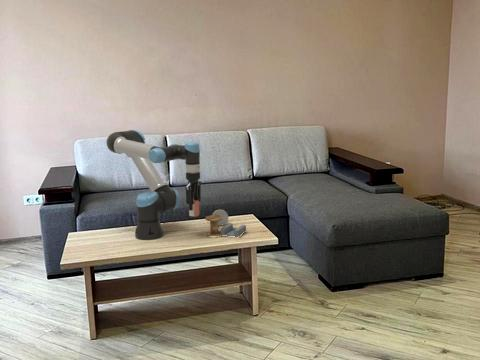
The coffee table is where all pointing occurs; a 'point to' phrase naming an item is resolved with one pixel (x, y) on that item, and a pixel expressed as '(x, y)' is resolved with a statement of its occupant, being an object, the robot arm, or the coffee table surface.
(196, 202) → the salmon pink block
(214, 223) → the spool
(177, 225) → the coffee table surface
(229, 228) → the notched board
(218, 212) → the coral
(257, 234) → the coffee table surface
